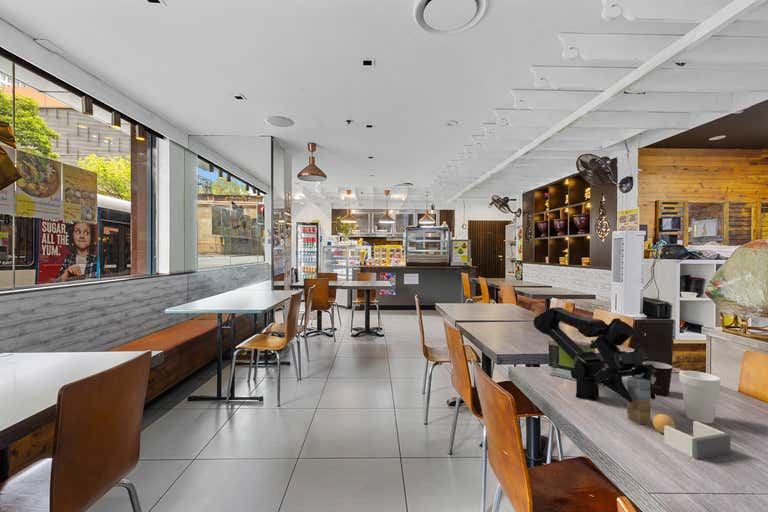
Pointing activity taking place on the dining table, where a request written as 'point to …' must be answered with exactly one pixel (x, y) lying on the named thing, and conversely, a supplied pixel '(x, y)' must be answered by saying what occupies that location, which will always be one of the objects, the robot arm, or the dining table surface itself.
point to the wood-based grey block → (639, 400)
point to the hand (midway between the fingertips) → (643, 400)
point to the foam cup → (700, 395)
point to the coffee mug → (660, 378)
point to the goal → (698, 441)
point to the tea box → (564, 358)
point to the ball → (662, 422)
